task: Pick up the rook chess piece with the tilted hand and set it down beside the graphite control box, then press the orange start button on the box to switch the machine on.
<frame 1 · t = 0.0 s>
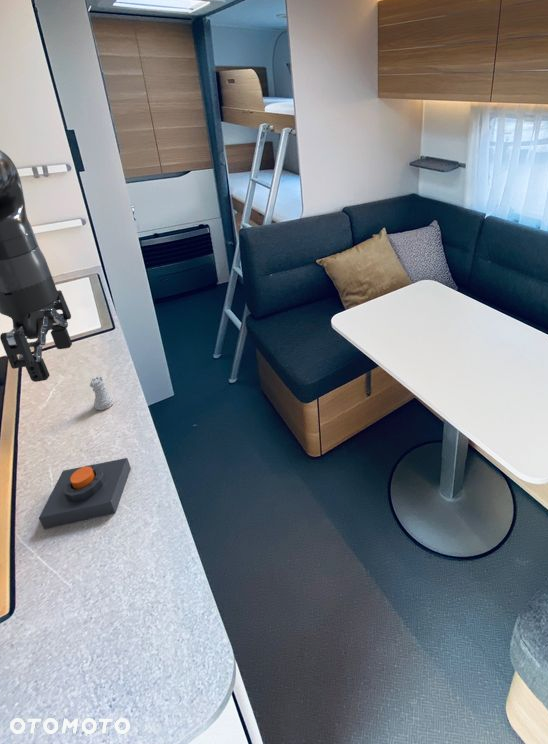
hand: (53, 362, 69), 33 cm above the worktop, tool pointing down, fingers open, 8 cm apart
control box: (90, 496, 81), on the worktop
rook chess piece: (105, 405, 105), on the worktop
start button: (82, 477, 79), point 5 cm above the worktop, slide at 0.1 cm
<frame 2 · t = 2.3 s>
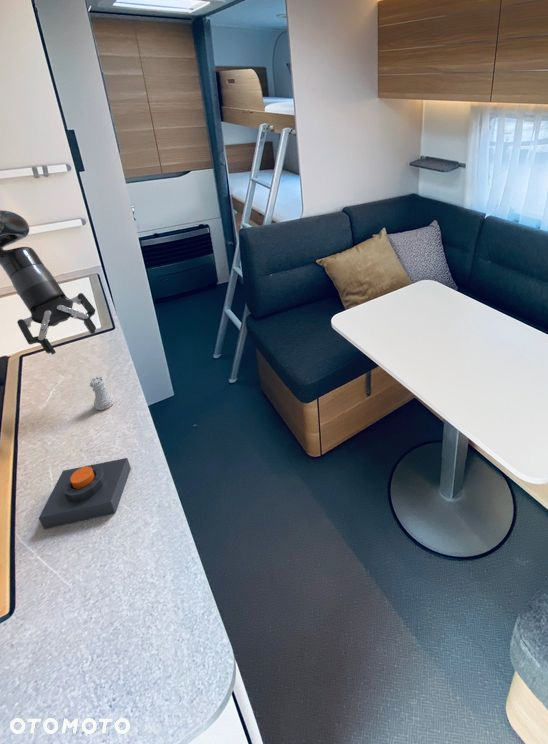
hand: (74, 343, 99), 18 cm above the worktop, tool tilted 40°, fingers open, 8 cm apart
nothing on the worktop moved.
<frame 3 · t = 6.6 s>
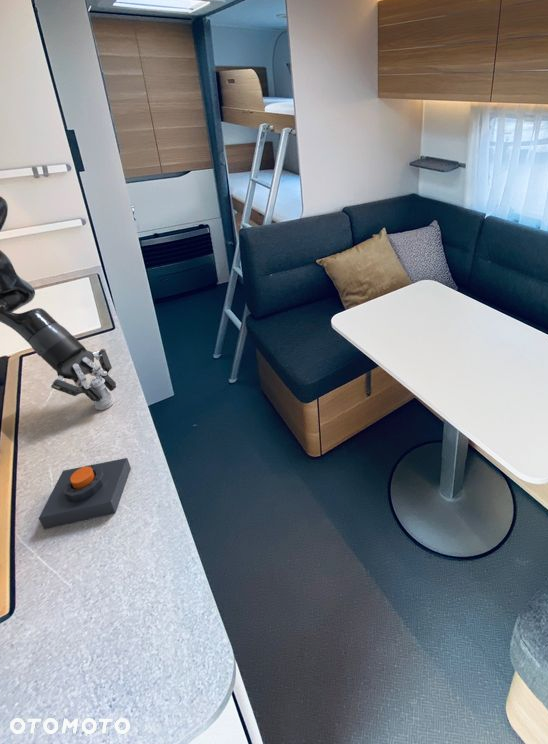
hand: (107, 393, 102), 4 cm above the worktop, tool tilted 45°, fingers closed on rook chess piece, 3 cm apart
rook chess piece: (105, 405, 105), on the worktop, touching gripper
everything else where it was.
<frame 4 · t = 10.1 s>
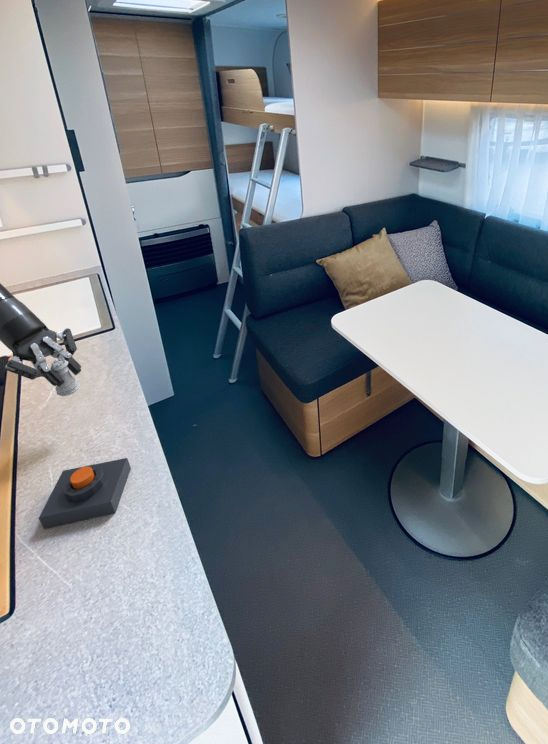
hand: (70, 378, 91), 16 cm above the worktop, tool tilted 45°, fingers closed on rook chess piece, 3 cm apart
rook chess piece: (69, 390, 93), point 11 cm above the worktop, touching gripper
everything else where it was.
when the fingers open (4 cm above the worktop, at t = 13.9 s): rook chess piece stays where it is, on the worktop.
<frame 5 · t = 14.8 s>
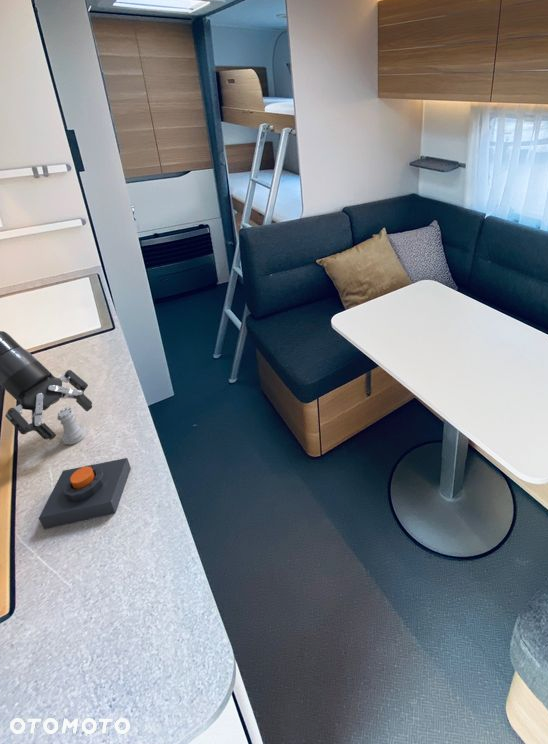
hand: (72, 422, 92), 5 cm above the worktop, tool tilted 45°, fingers open, 8 cm apart
rook chess piece: (75, 438, 95), on the worktop
everything else where it was.
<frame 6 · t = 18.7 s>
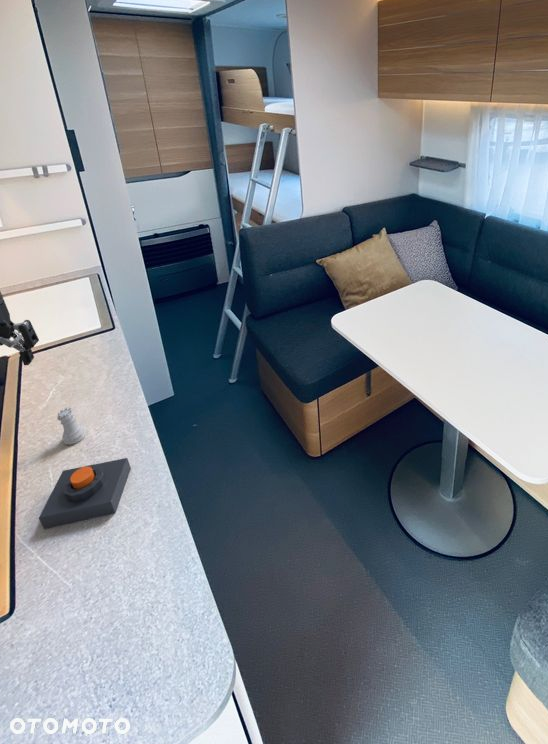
hand: (6, 366, 92), 18 cm above the worktop, tool pointing down, fingers open, 8 cm apart
nothing on the worktop moved.
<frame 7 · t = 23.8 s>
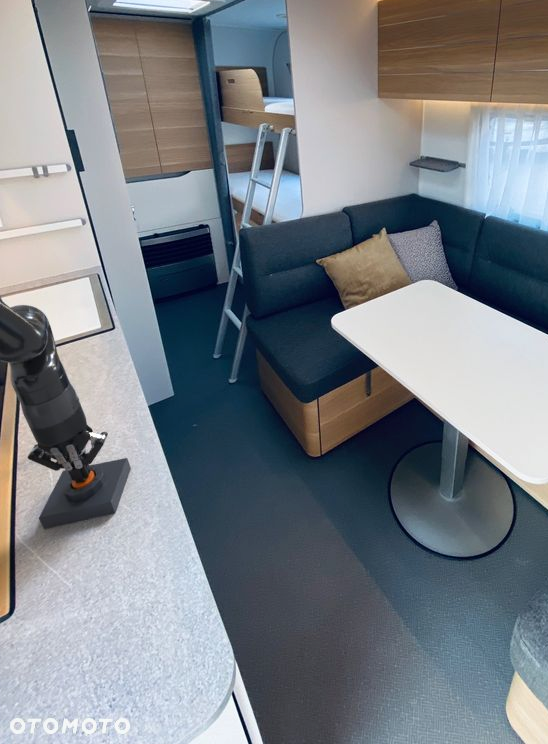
hand: (83, 478, 79), 5 cm above the worktop, tool pointing down, fingers closed
start button: (84, 481, 80), point 4 cm above the worktop, slide at -0.9 cm, touching gripper
everything else where it was.
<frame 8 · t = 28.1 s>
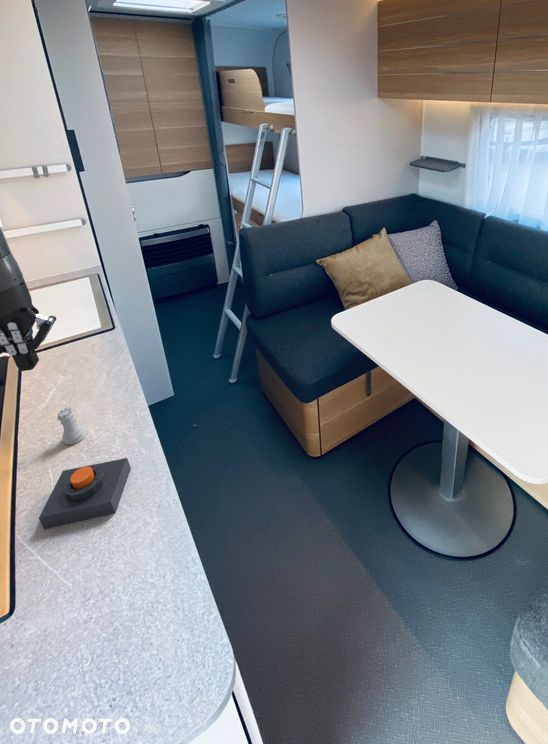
hand: (30, 367, 74), 29 cm above the worktop, tool pointing down, fingers closed
start button: (82, 477, 79), point 5 cm above the worktop, slide at 0.1 cm
everything else where it was.
at the end: start button pushed in 1.2 cm at the most during the clip, back to where it started at the end; start button slide at 0.1 cm; rook chess piece 0.1 cm from the target spot, on the worktop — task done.
